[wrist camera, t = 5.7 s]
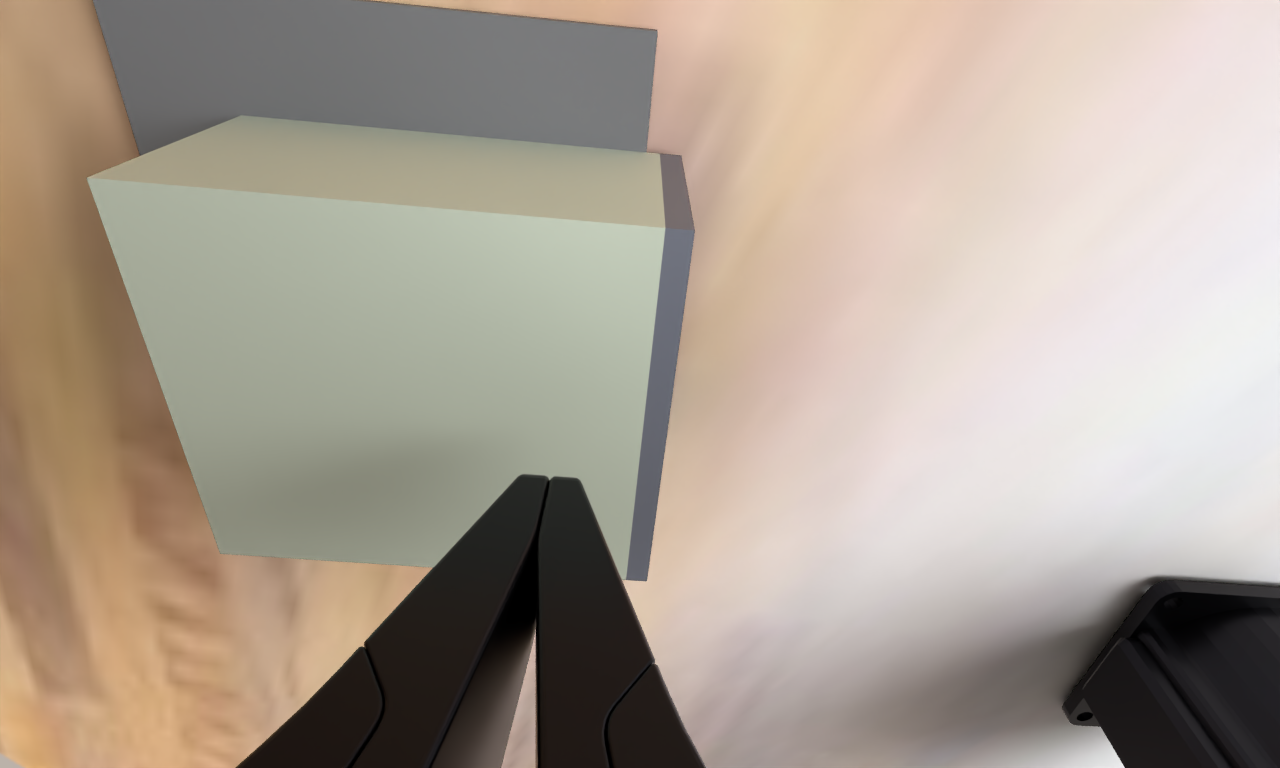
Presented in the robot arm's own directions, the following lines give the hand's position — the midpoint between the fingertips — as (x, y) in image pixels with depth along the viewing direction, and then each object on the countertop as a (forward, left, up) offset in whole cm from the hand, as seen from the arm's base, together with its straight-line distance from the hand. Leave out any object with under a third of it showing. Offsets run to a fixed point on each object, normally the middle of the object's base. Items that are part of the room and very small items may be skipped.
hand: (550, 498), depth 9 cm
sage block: (-2, 0, -4) cm, 4 cm away
